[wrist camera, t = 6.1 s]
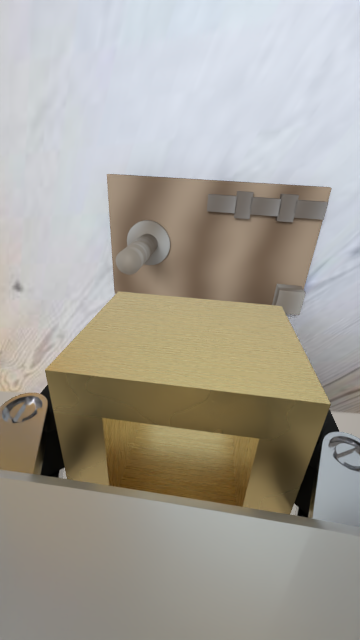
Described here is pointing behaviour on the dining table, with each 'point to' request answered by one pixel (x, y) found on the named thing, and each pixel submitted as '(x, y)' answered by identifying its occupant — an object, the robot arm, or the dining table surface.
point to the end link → (189, 401)
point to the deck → (214, 238)
